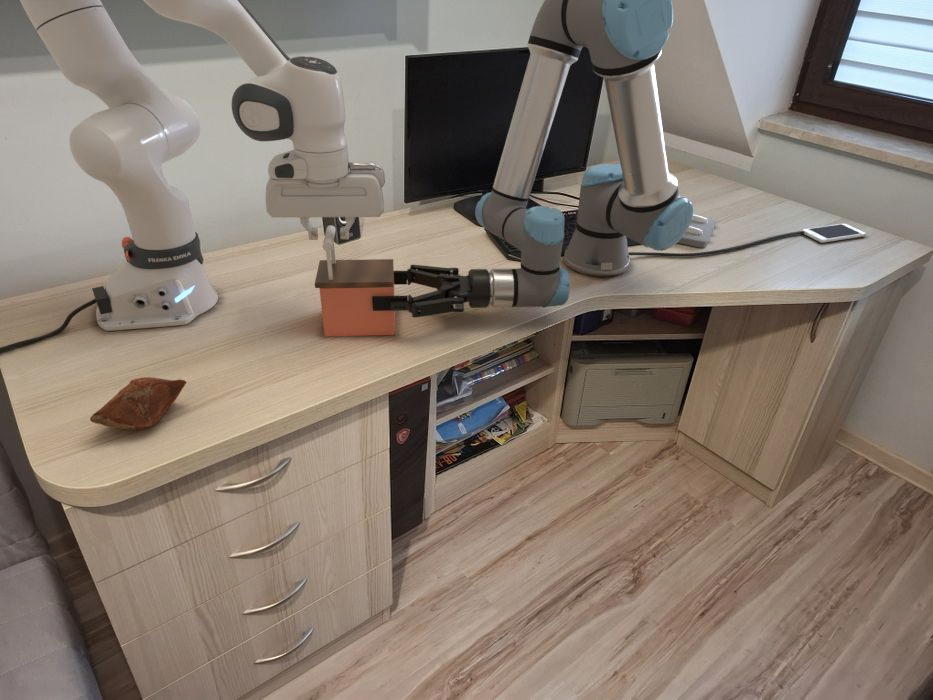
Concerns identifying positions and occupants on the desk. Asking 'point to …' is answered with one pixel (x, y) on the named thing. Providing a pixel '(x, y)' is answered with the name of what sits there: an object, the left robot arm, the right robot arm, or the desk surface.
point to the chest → (355, 311)
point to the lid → (351, 269)
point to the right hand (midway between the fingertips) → (373, 290)
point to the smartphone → (833, 233)
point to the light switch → (698, 232)
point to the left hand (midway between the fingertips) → (329, 238)
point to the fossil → (139, 403)
